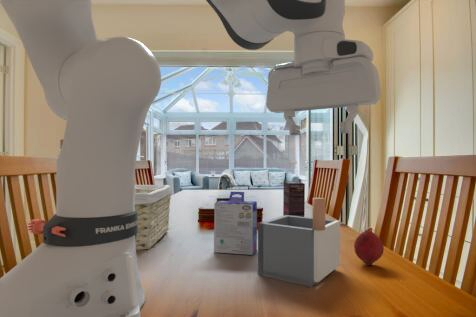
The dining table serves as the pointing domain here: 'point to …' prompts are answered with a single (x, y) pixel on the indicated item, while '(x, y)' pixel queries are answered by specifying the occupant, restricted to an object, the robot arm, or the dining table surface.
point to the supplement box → (294, 199)
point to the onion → (368, 246)
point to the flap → (324, 242)
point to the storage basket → (151, 213)
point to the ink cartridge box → (235, 225)
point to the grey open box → (287, 249)
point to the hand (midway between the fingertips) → (319, 134)
